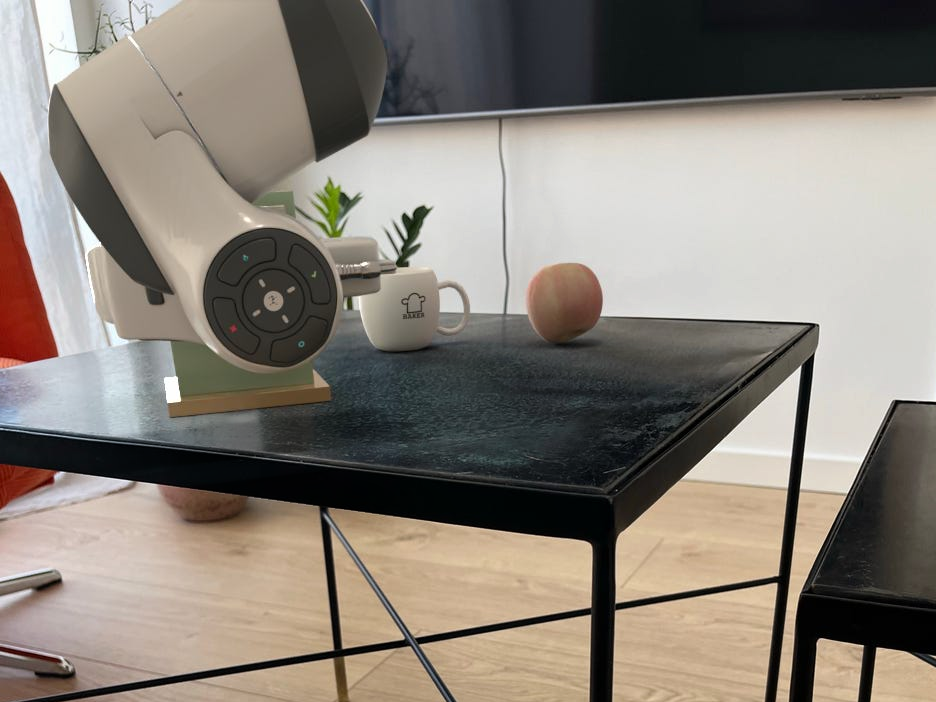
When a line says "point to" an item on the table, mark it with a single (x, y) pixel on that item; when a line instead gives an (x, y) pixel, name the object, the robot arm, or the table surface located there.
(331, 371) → the table surface
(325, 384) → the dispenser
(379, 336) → the mug
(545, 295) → the apple
